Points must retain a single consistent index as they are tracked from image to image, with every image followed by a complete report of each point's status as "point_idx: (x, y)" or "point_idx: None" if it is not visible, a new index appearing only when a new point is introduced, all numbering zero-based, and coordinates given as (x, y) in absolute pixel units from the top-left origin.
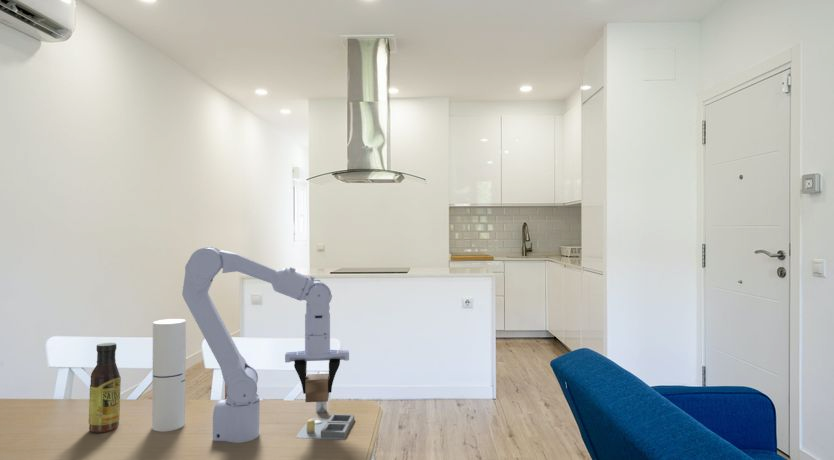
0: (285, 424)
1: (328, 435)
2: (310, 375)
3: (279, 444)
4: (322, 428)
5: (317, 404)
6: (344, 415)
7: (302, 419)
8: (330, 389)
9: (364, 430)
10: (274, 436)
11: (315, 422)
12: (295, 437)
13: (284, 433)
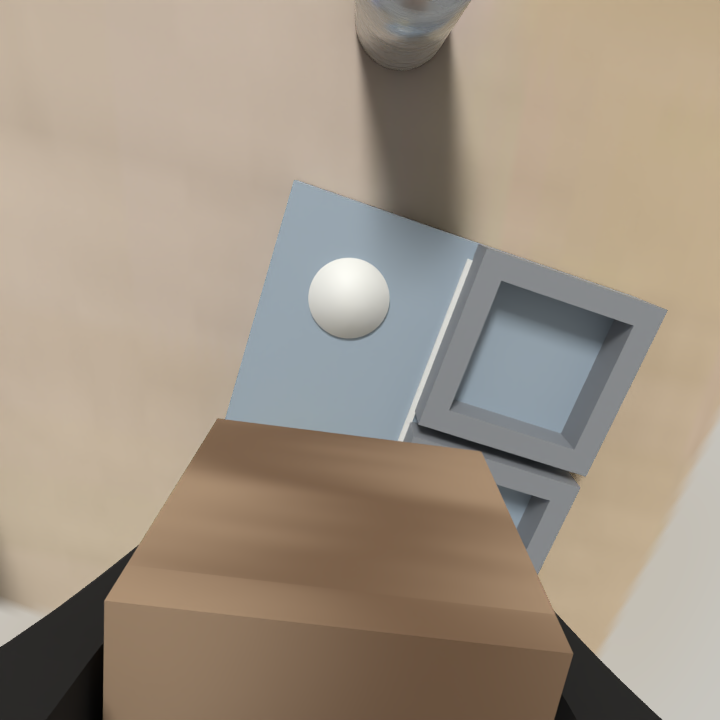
0: (101, 179)
1: None
2: (175, 699)
3: (105, 528)
4: (379, 428)
5: (367, 21)
6: (581, 306)
7: (234, 90)
8: None
9: (664, 436)
10: (53, 400)
11: (334, 305)
12: None
13: (115, 363)
